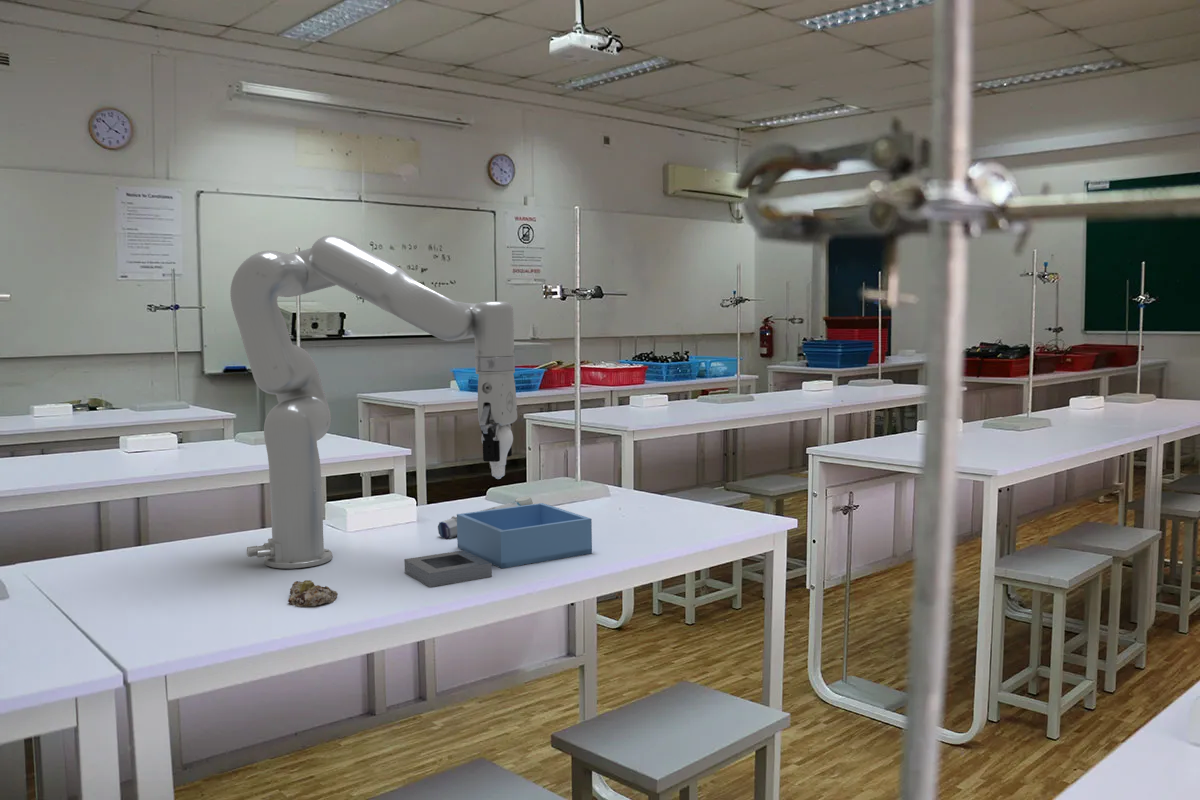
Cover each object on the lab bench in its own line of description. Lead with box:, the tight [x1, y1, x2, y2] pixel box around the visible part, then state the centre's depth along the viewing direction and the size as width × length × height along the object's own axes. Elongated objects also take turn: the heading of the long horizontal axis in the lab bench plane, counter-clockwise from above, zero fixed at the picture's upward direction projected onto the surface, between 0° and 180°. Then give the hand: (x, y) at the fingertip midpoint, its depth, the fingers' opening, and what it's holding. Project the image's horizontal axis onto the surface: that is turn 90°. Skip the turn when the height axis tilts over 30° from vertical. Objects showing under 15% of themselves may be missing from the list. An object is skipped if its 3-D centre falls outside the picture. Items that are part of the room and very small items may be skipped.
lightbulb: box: [481, 423, 514, 480], centre depth 185 cm, size 6×6×11 cm
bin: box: [456, 502, 593, 569], centre depth 192 cm, size 20×20×7 cm
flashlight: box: [437, 495, 534, 540], centre depth 212 cm, size 5×7×25 cm
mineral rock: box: [287, 579, 338, 608], centre depth 161 cm, size 11×4×8 cm
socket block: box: [404, 549, 493, 588], centre depth 175 cm, size 12×12×2 cm
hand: (497, 457), depth 185 cm, fingers closed on lightbulb, 6 cm apart
